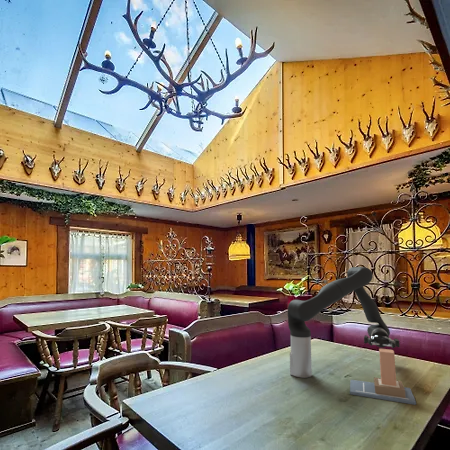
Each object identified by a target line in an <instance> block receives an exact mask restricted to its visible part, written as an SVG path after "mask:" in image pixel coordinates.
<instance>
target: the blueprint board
mask: <svg viewBox="0 0 450 450" xmlns="http://www.w3.org/2000/svg"><path fill="white" fill-rule="evenodd" d="M349 385H350V386H349V395H352V396H353V395H354V396H357V397H358V396H359V397H364V398H365V397H366V398H372V399H378V400H384V401H390V402H397V403H402V404H409V405H414V406H415V405H417V402H416V399H415V396H414V394H413V391H412V389H411V388H410V387H405V386H404V384H403V381H402V380H397V379H396V386H392V385H385V384H382V383H381V377H373V382H371V381H365V380H357V379H356V380H355V379H350V384H349Z"/></svg>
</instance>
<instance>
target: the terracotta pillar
mask: <svg viewBox="0 0 450 450" xmlns="http://www.w3.org/2000/svg"><path fill="white" fill-rule="evenodd" d="M378 355H379V367H380V368H379V369H380V370H379V371H380V378H381V383H382V384H385V385H392V386H396V380H397V375H396V371H397V370H396V358H395V351H394V350H393V349H388V348H387V349H386V348H379V349H378Z"/></svg>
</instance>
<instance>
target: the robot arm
mask: <svg viewBox="0 0 450 450" xmlns="http://www.w3.org/2000/svg"><path fill="white" fill-rule="evenodd" d="M346 274H347V275H346V277H343V278H339V279H335V280H333V281H330V282H328V283H327V284H325V285H323V286H322V287H321V288H320V290H318V293H317V294H316V295H315V296H314V297H311V298H309V299H307V300H300V299H293V300H291V301H290V302H289V304H288V306H287V324H288V329H289V331H290V332H289V333H290V352H289V369H290V370H289V372H290V373H289V374H290V376H294V377H297V378H303V379H304V378H305V379H306V378H311V377H312V376H313V372H312V371H313V367H312V365H313V363H312V362H313V360H312V337H311V329H310V328H309V327H308V325H307V324H306V322H309V321H310V320H312V319H314V317H315V316H317V315H318V314H319V313H320V312H322V311H323V310H325V309H326V308H328V307H330V306H331V305H333V304H335V303H337V302H338V301H340V300H342V299H343V298H344V297H346V296H348V295H349V294H351V293H353V292H354V293H355V295H356V297H357V299H358V300H359V302H360V304H361V305H360V306H361V307H362V310H363V313H364V315H365V318H366V320H367V322H368V323H373V324H372V325H370V326H368V327H367V329H366V330H367V334H368V335H367V334H365V335H364V336H363V343H364V344H368V345H370V346H372V347H373V346H376V347H378V348H386V347H391V348H392V349H395V348H400V347H401V345H400V340H399V339H398V338H394V339H392V338H391V337H390V334H391V331H390V329H389V328H390V327H388V326H387V324H386V323H385V322H384V320H383V318H382V316H381V313H380V310H379V308H378V306H377V303H376V302H375V301H374V299H373V298H372V297H371V296H370V295H369V294H368V292H367V291H366V290H365V288H364V286H367V285H368V284H370V282H371V281H372V280H373V276H374V275H373V272H372V270H371V269H370V268H368V267H365V266H354V267H353V266H351V267H350V268H348V269H347V272H346ZM374 323H375V324H374Z"/></svg>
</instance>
